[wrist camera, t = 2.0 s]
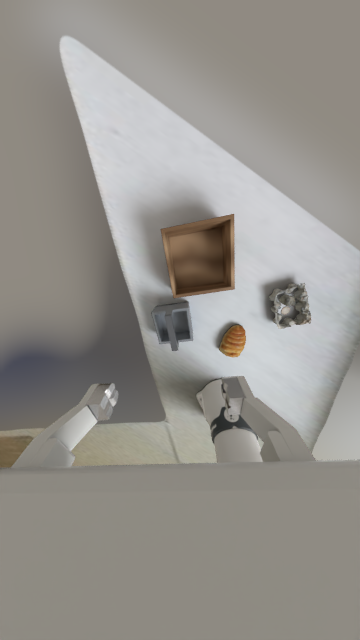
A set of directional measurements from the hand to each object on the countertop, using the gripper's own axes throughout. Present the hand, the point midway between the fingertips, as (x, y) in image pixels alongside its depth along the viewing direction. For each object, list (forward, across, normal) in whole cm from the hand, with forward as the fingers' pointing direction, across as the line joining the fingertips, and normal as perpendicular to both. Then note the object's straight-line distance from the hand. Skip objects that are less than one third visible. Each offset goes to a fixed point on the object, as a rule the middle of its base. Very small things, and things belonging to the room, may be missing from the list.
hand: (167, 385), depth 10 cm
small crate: (+27, -2, -8) cm, 29 cm away
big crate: (+28, +5, +6) cm, 29 cm away
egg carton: (+27, +27, -6) cm, 39 cm away
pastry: (+27, +14, -16) cm, 34 cm away
